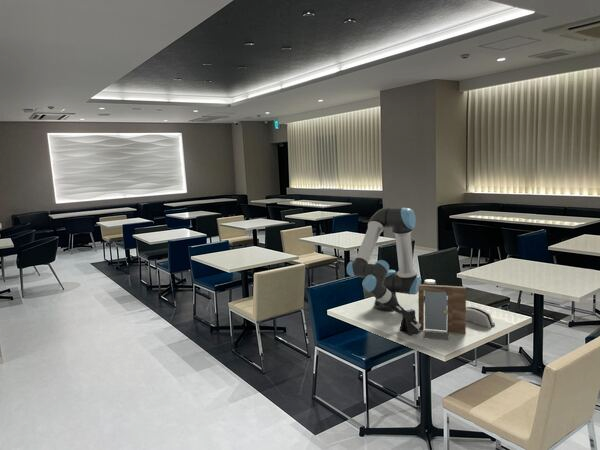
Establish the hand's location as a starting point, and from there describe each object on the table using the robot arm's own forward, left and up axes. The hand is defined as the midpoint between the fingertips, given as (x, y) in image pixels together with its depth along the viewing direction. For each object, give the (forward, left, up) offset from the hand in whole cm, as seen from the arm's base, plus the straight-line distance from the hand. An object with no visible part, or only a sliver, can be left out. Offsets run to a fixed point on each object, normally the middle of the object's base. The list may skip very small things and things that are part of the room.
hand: (412, 322), depth 236 cm
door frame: (-4, +14, -5) cm, 16 cm away
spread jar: (-63, +5, -5) cm, 63 cm away
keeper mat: (+3, +12, -5) cm, 13 cm away
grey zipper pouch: (-22, +33, -5) cm, 40 cm away
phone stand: (+1, -2, -5) cm, 6 cm away
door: (-4, +11, -4) cm, 13 cm away
